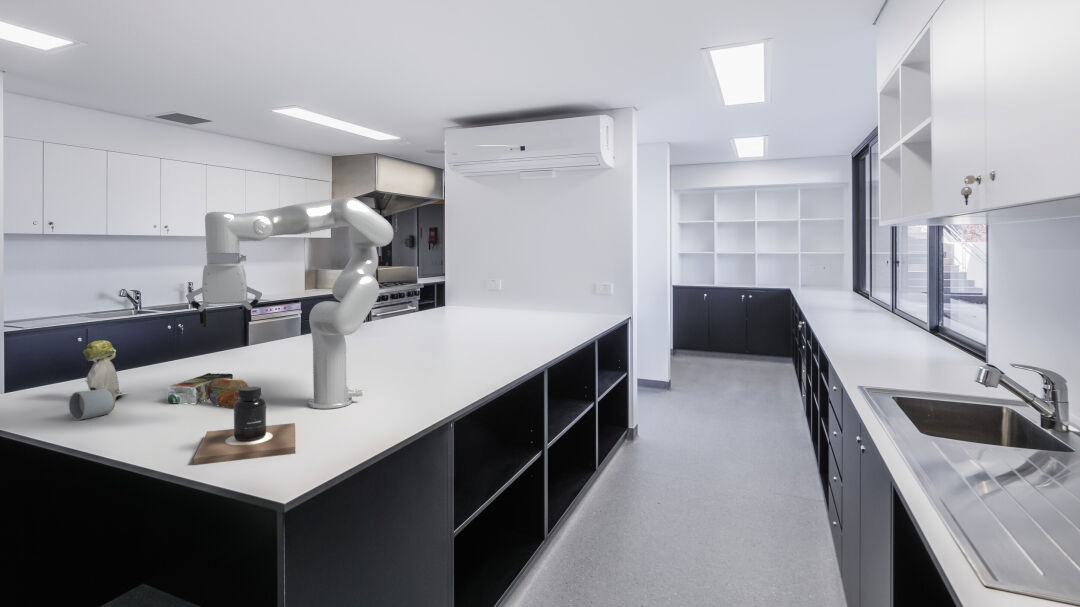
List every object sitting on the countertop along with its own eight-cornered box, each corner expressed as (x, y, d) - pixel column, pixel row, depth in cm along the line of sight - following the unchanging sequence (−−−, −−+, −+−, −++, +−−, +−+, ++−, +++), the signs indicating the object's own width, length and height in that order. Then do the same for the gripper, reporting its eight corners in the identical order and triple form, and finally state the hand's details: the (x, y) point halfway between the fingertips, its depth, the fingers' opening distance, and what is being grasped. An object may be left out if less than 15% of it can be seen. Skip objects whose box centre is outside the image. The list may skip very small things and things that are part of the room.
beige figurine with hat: (132, 393, 181) (130, 337, 179) (117, 403, 168) (114, 343, 167) (88, 395, 177) (85, 338, 175) (69, 406, 164) (66, 344, 163)
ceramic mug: (118, 414, 157) (116, 387, 156) (85, 422, 149) (83, 394, 149) (94, 410, 161) (93, 384, 160) (61, 417, 153) (60, 389, 153)
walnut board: (295, 428, 146) (295, 422, 146) (295, 453, 128) (295, 446, 128) (207, 437, 138) (207, 430, 138) (194, 464, 120) (193, 457, 120)
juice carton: (234, 390, 188) (234, 373, 187) (195, 406, 168) (194, 386, 167) (206, 389, 188) (206, 372, 188) (163, 405, 168) (162, 386, 168)
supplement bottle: (253, 443, 129) (251, 392, 128) (227, 441, 130) (226, 390, 130) (272, 434, 136) (271, 386, 135) (248, 432, 137) (247, 384, 136)
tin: (207, 404, 169) (206, 377, 168) (216, 402, 172) (215, 375, 171) (243, 410, 163) (242, 382, 162) (252, 407, 166) (251, 380, 165)
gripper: (260, 259, 152) (263, 322, 154) (186, 259, 144) (189, 325, 146) (260, 260, 145) (263, 325, 147) (182, 260, 138) (186, 329, 139)
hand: (226, 325), depth 146 cm, fingers open, 9 cm apart
